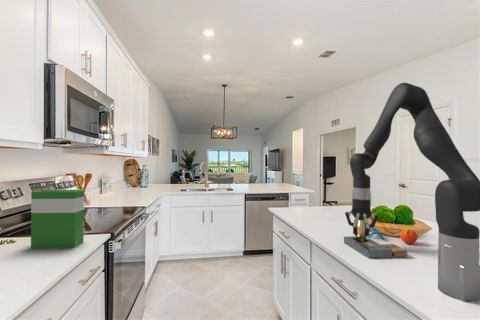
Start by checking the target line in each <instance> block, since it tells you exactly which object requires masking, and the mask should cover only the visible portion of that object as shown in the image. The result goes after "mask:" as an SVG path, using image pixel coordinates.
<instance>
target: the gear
mask: <svg viewBox="0 0 480 320" xmlns="http://www.w3.org/2000/svg"><path fill="white" fill-rule="evenodd" d="M368 224H369V225H370V224H371V223H370V222H368ZM371 229H372V230H371V232H369V236H368V237H367V238H369V239H371V237H372V236H373V235H376V234H377V235H378V236H379V238H381V239H382V240H385V239H386V238H385V237H384V236H383V235H382V234H381V233H380V232H379V230H378V229H377V228H375V227H374V228H371Z"/></svg>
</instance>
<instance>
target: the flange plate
mask: <svg viewBox="0 0 480 320" xmlns="http://www.w3.org/2000/svg"><path fill="white" fill-rule="evenodd" d="M343 244H345V245H347V246H348V247H349V248H351V249H353V250H354V251H357V253H358V254H360V255H362V256H364V257H366V258H367V259H385V258H386V259H387V258H388V259H390V258H391V259H392V258H393V257H392V250H391V249H389V248H387V247H385V246H383V245H382V243H378V242H376V241H374V240H372V239H371V238H368V237H366V242H357V241H356V236H355V235H353V236H352V235H351V236H343Z"/></svg>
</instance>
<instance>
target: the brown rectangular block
mask: <svg viewBox="0 0 480 320" xmlns="http://www.w3.org/2000/svg"><path fill="white" fill-rule="evenodd" d="M381 245H383V246H385V247H387V248H389V249H391V250H392V256H393V257H392V258H395V259H400V258H401V259H403V257H408V256H407V255H408V254H407V253H408V251H407V249H406V248H403V247H401V246H399V245H397V244H394V243H381Z"/></svg>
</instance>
